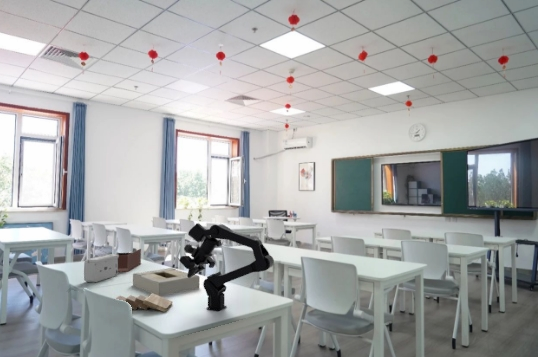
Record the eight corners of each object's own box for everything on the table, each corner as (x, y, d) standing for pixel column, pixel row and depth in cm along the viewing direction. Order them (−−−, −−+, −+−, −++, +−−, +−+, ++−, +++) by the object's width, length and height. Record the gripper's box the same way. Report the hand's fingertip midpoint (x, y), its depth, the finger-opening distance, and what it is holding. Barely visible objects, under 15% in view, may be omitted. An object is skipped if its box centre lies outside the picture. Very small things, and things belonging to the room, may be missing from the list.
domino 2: (151, 303, 161) (130, 295, 161) (147, 306, 156) (126, 298, 156) (150, 306, 161) (129, 298, 161) (146, 310, 156) (124, 301, 156)
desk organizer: (111, 272, 236) (111, 255, 236) (127, 264, 265) (127, 248, 265) (128, 272, 236) (128, 255, 237) (141, 264, 265) (141, 248, 266)
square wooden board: (172, 301, 163) (152, 293, 164) (166, 308, 153) (144, 299, 153) (171, 304, 163) (150, 296, 164) (164, 312, 153) (142, 303, 153)
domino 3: (161, 303, 161) (140, 294, 161) (157, 306, 156) (136, 297, 156) (159, 306, 161) (138, 298, 161) (156, 310, 156) (134, 301, 156)
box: (200, 289, 193) (170, 279, 216) (200, 274, 194) (170, 266, 217) (159, 298, 177) (132, 286, 200) (159, 282, 177) (132, 272, 201)
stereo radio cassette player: (108, 275, 228) (108, 242, 229) (119, 275, 226) (120, 243, 227) (83, 282, 208) (83, 247, 209) (95, 283, 206) (95, 247, 207)
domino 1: (140, 303, 161) (119, 295, 161) (137, 306, 156) (115, 298, 156) (139, 306, 161) (118, 298, 160) (135, 310, 156) (113, 302, 155)
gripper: (208, 238, 172) (191, 265, 174) (181, 237, 156) (163, 266, 158) (223, 253, 167) (205, 280, 169) (196, 253, 151) (177, 283, 153)
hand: (188, 277), depth 162 cm, fingers closed
